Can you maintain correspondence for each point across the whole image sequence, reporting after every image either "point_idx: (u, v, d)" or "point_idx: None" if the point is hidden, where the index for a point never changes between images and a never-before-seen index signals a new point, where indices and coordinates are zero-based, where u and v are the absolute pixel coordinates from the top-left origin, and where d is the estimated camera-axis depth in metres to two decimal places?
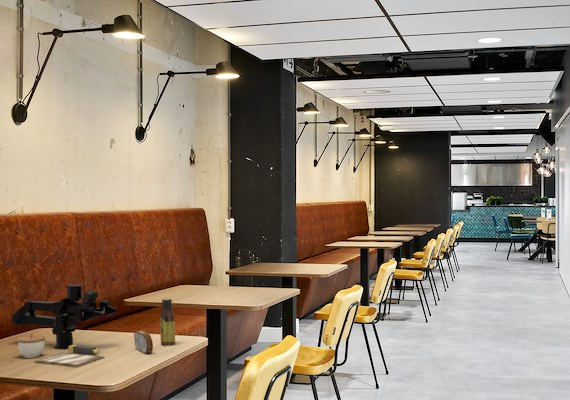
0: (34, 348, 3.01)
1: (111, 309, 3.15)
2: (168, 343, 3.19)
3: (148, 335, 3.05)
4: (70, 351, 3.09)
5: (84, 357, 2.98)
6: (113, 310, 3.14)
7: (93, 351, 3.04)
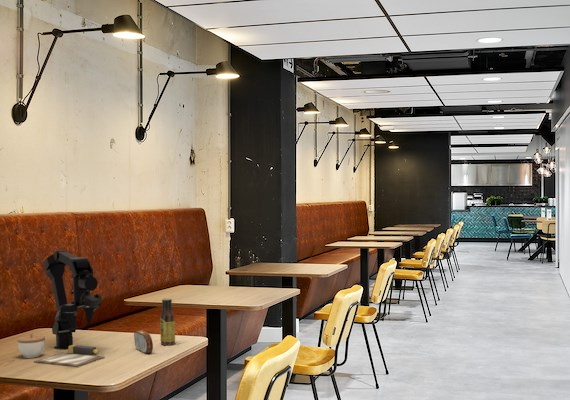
0: (34, 348, 3.01)
1: (89, 317, 3.12)
2: (168, 343, 3.19)
3: (148, 335, 3.05)
4: (70, 351, 3.09)
5: (84, 357, 2.98)
6: (89, 320, 3.12)
7: (93, 351, 3.04)
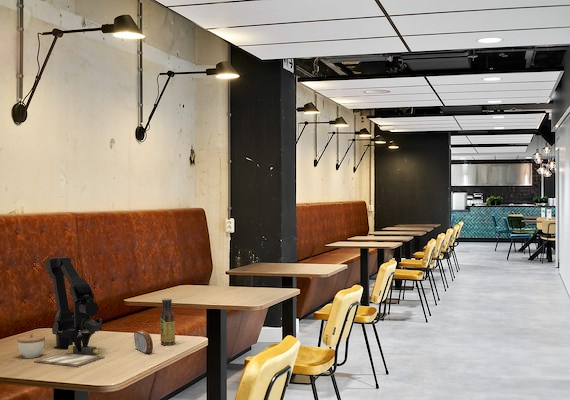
0: (34, 348, 3.01)
1: (85, 343, 3.09)
2: (168, 343, 3.19)
3: (148, 335, 3.05)
4: (70, 351, 3.09)
5: (84, 357, 2.98)
6: (85, 345, 3.09)
7: (93, 351, 3.04)
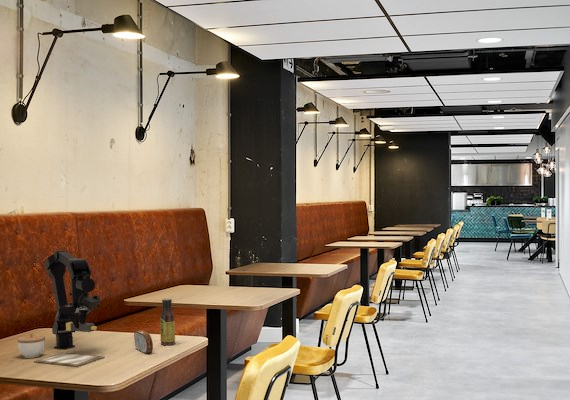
0: (34, 348, 3.01)
1: (82, 320, 3.08)
2: (168, 343, 3.19)
3: (148, 335, 3.05)
4: (68, 328, 3.08)
5: (84, 357, 2.98)
6: (82, 322, 3.08)
7: (91, 327, 3.03)
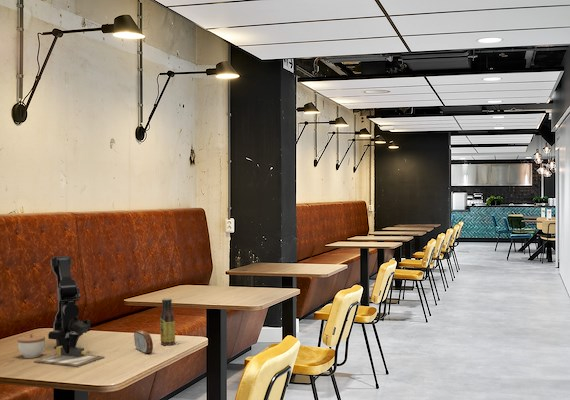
0: (34, 348, 3.01)
1: (73, 344, 3.04)
2: (168, 343, 3.19)
3: (148, 335, 3.05)
4: (58, 352, 3.04)
5: (84, 357, 2.98)
6: None
7: (81, 352, 2.99)
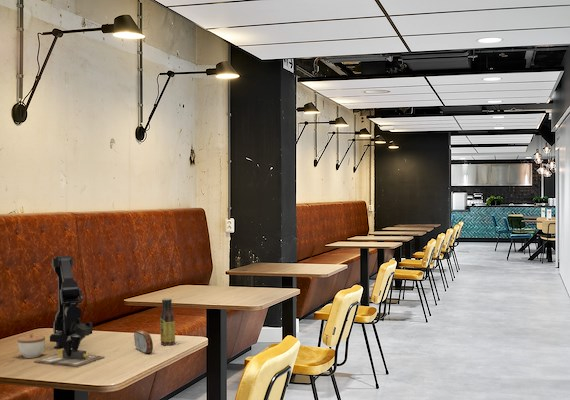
0: (34, 348, 3.01)
1: (75, 347, 2.99)
2: (168, 343, 3.19)
3: (148, 335, 3.05)
4: (59, 355, 2.98)
5: None
6: None
7: (83, 355, 2.94)
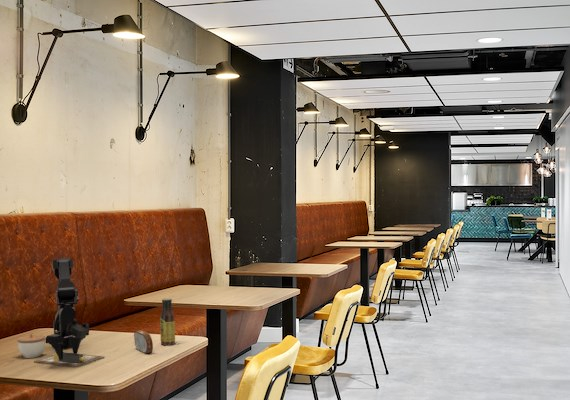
0: (34, 348, 3.01)
1: (75, 348, 2.95)
2: (168, 343, 3.19)
3: (148, 335, 3.05)
4: (55, 358, 2.93)
5: None
6: (75, 351, 2.95)
7: (80, 359, 2.88)
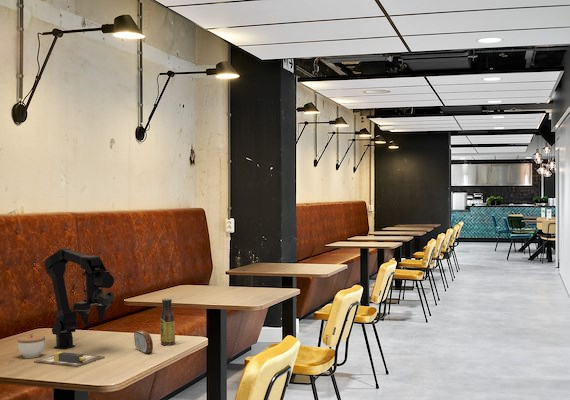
0: (34, 348, 3.01)
1: (101, 315, 3.13)
2: (168, 343, 3.19)
3: (148, 335, 3.05)
4: (55, 358, 2.93)
5: None
6: (101, 318, 3.13)
7: (80, 359, 2.88)
